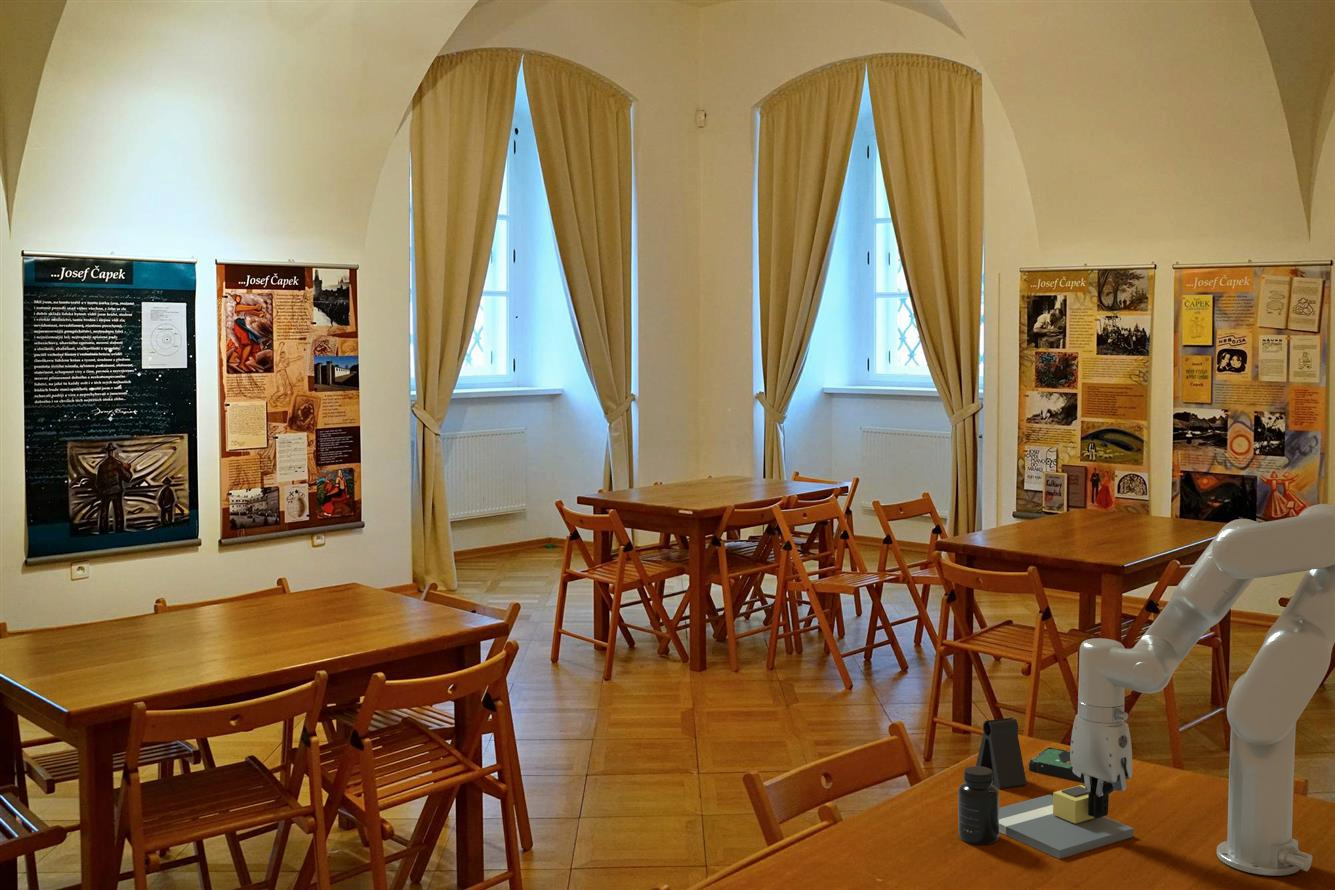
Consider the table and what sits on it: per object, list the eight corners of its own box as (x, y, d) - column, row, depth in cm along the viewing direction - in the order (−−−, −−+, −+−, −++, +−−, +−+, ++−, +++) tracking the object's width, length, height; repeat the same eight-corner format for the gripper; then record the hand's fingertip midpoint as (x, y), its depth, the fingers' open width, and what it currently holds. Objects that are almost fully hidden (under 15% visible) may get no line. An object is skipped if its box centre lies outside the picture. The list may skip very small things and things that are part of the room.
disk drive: (1120, 774, 250) (1047, 759, 260) (1121, 761, 250) (1048, 745, 259) (1101, 789, 242) (1027, 772, 252) (1102, 775, 242) (1028, 759, 251)
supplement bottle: (971, 827, 223) (972, 760, 222) (1006, 837, 218) (1007, 769, 217) (950, 838, 218) (950, 770, 217) (985, 849, 213) (985, 780, 212)
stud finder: (1103, 815, 223) (1103, 791, 222) (1075, 823, 219) (1075, 799, 219) (1080, 806, 227) (1081, 783, 227) (1052, 814, 224) (1053, 790, 223)
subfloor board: (1133, 836, 218) (1133, 828, 218) (1059, 859, 209) (1059, 850, 209) (1049, 802, 234) (1049, 794, 234) (977, 821, 225) (977, 813, 225)
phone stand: (1026, 786, 243) (1027, 724, 242) (999, 789, 241) (1000, 728, 240) (1000, 770, 252) (1001, 711, 251) (974, 774, 250) (974, 714, 249)
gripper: (1151, 719, 213) (1148, 825, 215) (1081, 697, 226) (1078, 797, 227) (1121, 726, 209) (1118, 834, 211) (1051, 704, 222) (1049, 805, 224)
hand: (1097, 815), depth 219 cm, fingers closed
